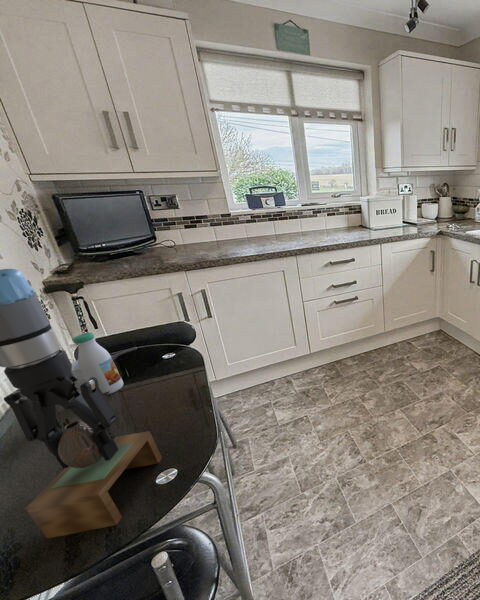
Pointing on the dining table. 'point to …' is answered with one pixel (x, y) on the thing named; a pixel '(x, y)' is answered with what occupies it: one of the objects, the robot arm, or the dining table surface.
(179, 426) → the dining table surface
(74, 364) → the saucepan
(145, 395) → the dining table surface
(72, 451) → the vase
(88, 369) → the milk bottle
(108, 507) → the shelf
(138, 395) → the dining table surface
